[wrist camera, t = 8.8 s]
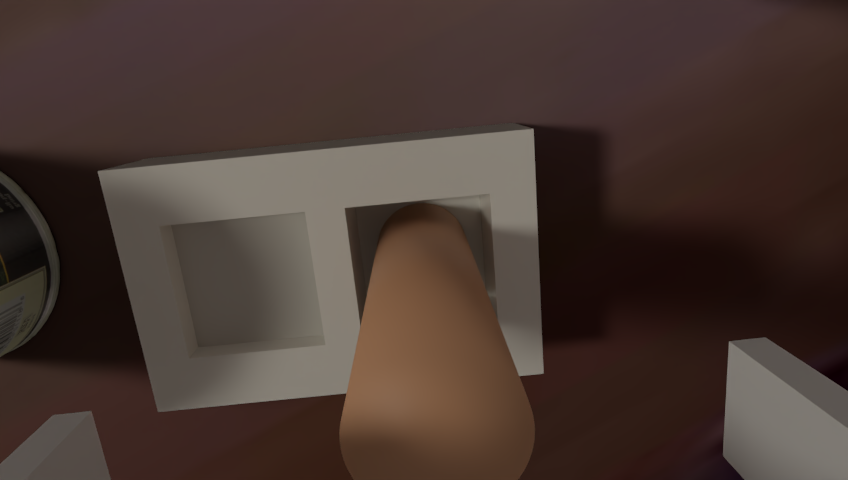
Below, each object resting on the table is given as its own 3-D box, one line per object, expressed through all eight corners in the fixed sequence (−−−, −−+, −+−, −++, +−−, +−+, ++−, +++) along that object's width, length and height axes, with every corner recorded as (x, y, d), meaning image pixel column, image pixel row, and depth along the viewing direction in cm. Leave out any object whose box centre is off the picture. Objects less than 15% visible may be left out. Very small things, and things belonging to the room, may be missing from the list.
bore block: (194, 365, 26) (157, 412, 23) (147, 158, 24) (97, 171, 20) (523, 332, 26) (543, 373, 23) (513, 122, 24) (533, 128, 20)
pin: (383, 292, 25) (353, 526, 12) (372, 207, 24) (326, 359, 11) (469, 283, 25) (538, 508, 12) (462, 199, 24) (530, 339, 11)
